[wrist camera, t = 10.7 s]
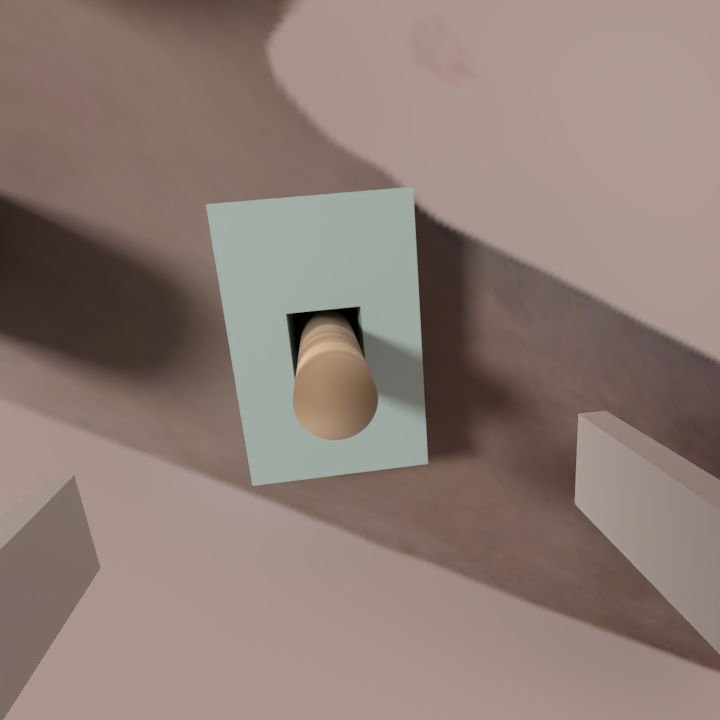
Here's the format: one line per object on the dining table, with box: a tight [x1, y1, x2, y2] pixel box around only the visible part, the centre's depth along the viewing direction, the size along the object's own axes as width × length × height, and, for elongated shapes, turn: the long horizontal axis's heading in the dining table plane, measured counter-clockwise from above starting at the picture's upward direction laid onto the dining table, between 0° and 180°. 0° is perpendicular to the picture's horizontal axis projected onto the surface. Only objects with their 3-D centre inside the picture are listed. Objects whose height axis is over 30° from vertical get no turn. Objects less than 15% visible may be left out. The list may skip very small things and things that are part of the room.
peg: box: [293, 309, 378, 440], centre depth 27 cm, size 4×4×16 cm
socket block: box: [206, 187, 428, 486], centre depth 32 cm, size 18×12×6 cm, turn 5°
